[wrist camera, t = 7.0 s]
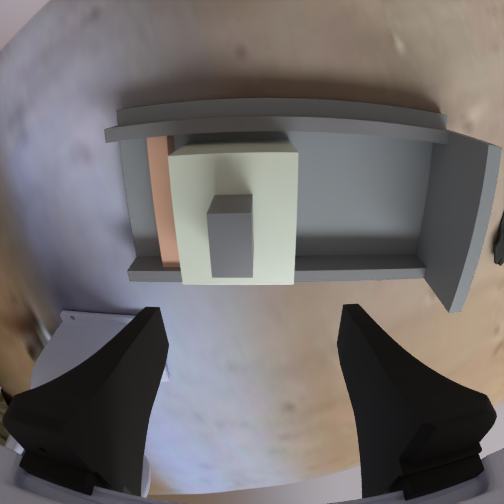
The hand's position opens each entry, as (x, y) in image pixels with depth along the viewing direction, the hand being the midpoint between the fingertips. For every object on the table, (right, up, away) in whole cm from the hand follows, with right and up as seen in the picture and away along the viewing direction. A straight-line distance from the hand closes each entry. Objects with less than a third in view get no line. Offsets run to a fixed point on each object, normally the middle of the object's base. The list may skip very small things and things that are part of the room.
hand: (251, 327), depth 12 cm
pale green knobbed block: (-1, +6, +7) cm, 10 cm away
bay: (+2, +7, +8) cm, 11 cm away
